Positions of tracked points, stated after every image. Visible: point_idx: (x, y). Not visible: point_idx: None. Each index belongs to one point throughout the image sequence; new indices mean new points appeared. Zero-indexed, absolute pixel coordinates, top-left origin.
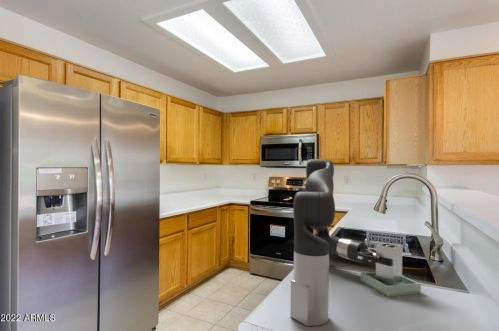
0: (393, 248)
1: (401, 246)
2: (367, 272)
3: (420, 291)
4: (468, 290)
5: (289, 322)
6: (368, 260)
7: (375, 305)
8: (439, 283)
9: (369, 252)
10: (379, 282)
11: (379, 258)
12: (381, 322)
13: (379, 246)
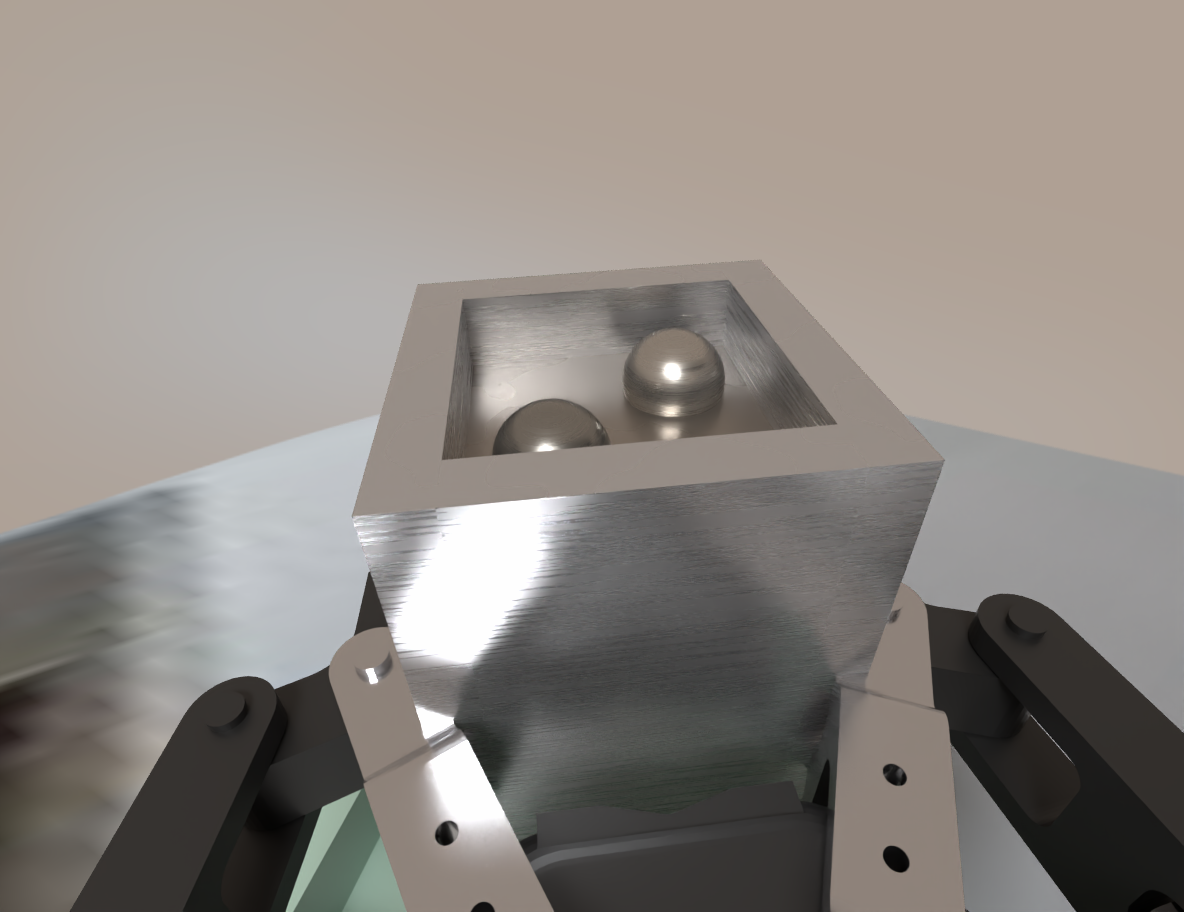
0: (740, 267)
1: (433, 286)
2: None
3: None
4: (111, 501)
5: None
6: (1044, 826)
7: (1092, 629)
8: (38, 648)
9: (957, 877)
10: None
11: None
12: (1167, 495)
13: (886, 417)
